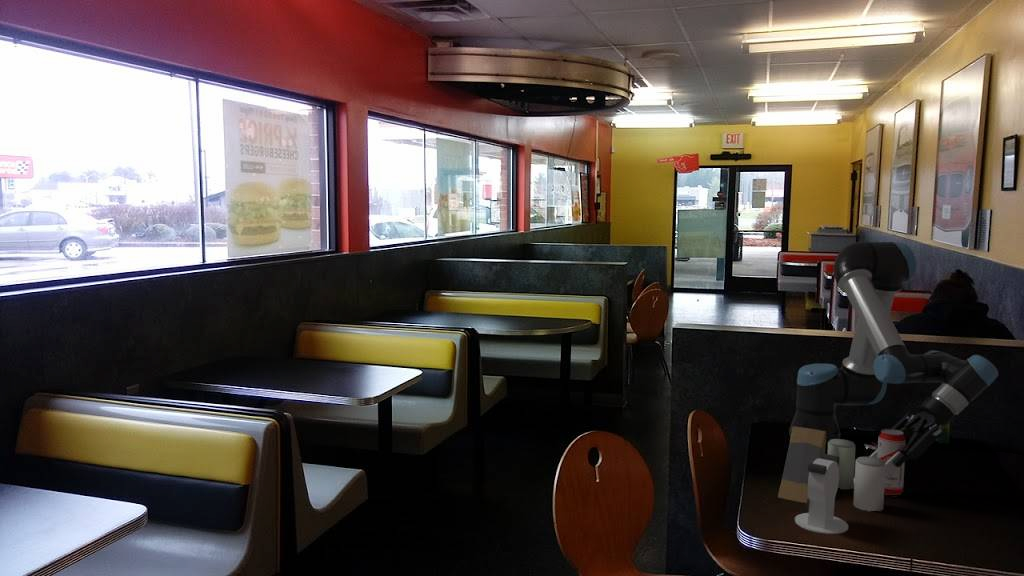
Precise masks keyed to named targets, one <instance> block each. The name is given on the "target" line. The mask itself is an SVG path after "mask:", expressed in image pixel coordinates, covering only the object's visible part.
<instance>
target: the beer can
mask: <svg viewBox="0 0 1024 576" xmlns="http://www.w3.org/2000/svg"><path fill="white" fill-rule="evenodd" d="M903 434H904V433H903V432H902V431H899V430H894V429H891V428H883V429H881V430H880V434H879V435H878V440H877V449H878V454H877V458H878V459H881V460H883V461H884V463H886V462H887V461H888V460H889V459H890V458H891V457H892V456H893V455H894V454H895V453H897V452H898V451H899V449H902V450H903V448H904V447H905V445H906V444H907V441H906V440H907V439H905V437H904V435H903ZM899 452H900V451H899ZM900 453H901V452H900ZM901 454H902V453H901ZM905 462H906V461H905ZM905 462H904V463H903V464H902V465H901V466H900V467H898V468H897V469H896V470H895V471H894V472H893V473H892V474H891V475H890V476H889V477H886V476H885V487H884V494H885V495H884V496H887V495H899V496H900V495H902V494H903V491H904V477H905Z"/></svg>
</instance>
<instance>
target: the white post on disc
mask: <svg viewBox="0 0 1024 576" xmlns="http://www.w3.org/2000/svg"><path fill="white" fill-rule="evenodd" d="M838 466H839V457H838V456H833V455H828V453H825V454H822V457H821V459H820V458H818V459H816V460H815V461H814V462H813V463H809V465H808V471H809V474H808V478H807V492H808V497H809V499H807V503H806V508H807V509H808V512H805V513H800V514H797V515H796V516H795V517H794V522H795V524H796V525H798V526H799V527H801V528H802V529H804V530H807V531H810V532H813V533H820V534H826V535H835V534H836V535H838V534H839V535H840V534H843V533H846V532H847V531H849V524H848V523H847V522H846V521H845V520H843V519H841V518H839V517H837V516H834V514H835V504H836V503H835V499H836V495H837V492H838V490H839V489H838V484H839V468H838Z"/></svg>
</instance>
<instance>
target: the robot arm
mask: <svg viewBox="0 0 1024 576" xmlns="http://www.w3.org/2000/svg"><path fill="white" fill-rule="evenodd" d="M916 270H917V261H916V256H915V254H914V251H913V250H912V248H911V247H910V246H909V245H907V244H906V243H903V242H894V241H868V242H867V241H857V242H852V243H849V244H848V245H846V246H844V247H843V248H842V249H841V250H839V253H838V254H837V255H836V258H835V259H834V263H833V275H834V276H833V277H834V280H835V283H836V285H837V286H838V288H839V290H840V291H843V292H844V293H845V295H846V297H847V299H848V301H849V303H850V305H851V307H852V308H853V311H854V313H855V314H856V316H857V319H856V323H855V328H854V333H853V337H852V342H851V346H850V350H849V354H848V355H849V356H847V357H846V358H843V360H842V363H841V367H840V368H838V367H837V365H835V364H832V363H812V364H806V365H803V366H802V367H800V368H799V369H798V372H797V379H796V404H795V405H796V409H795V414H794V416H793V420H792V421H791V425H790V426H789V434H788V435H789V437H790V438H791V433H792V427H793V426H795V427H802V428H809V429H815V430H821V431H826V445H828V442H829V441H830V440H831V439H841V431H840V427H839V425H838V420H837V417H836V406H867V405H874V404H878V403H879V402H880V401H882V399H883V398H884V396H885V394H886V392H887V386H888V384H895V385H899V384H911V383H912V384H914V383H917V384H928V383H930V384H931V383H933V384H934V383H935V384H936V383H940V385H939V387H937V388H936V389H935V390H934V391H933V392H932V393H931V396H928V397H926V399H925V400H924V401H922V402H921V404H920V405H919V408H920V411H919V412H917V413H915V414H911V413H910V412H906V413H905V414H904V415H903V417H902V419H901V420H899V421H898V422H897V423H895V424H894V425H893V426H892V427H891V428H890V429H894V430H899V431H902V432H903V433H904V434H903V435H904V437H905V440H907V439H908V438H909V440H908V441H906V445H905V447H904V448H903V450H902V449H899V451H900V452H901V453H902V454H901V453H900V452H899V451H898V452H897V453H895V454H894V455H893V456H892V457H891V458H890V459H889V460H888V461H887V462H886V463H885V464H886V468H885V476H886V477H889V476H890V475H891V474H892V473H893V472H894V471H895V470H896V469H897V468H898V467H900V466H901V465H902V464H903V463H904V462H906V461H907V460H913V461H916V460H918V459H919V457H921V456H922V455H923V454H924V452H925V451H927V449H928V448H929V447H930V446H932V444H933V443H934V442H935V441H936V439H937V438H939V437H940V436H942V435H943V432H942V431H941V430H940V428H939V426H940V425H941V426H946V425H947V424H948V423H950V424H951V422H952V421H953V420H954V419H955V416H958V415H959V414H960V413H961V412H962V411H964V409H965V408H966V407H968V406H969V405H970V404H971V403H972V402H973V401H974V400H975V399H976V398H978V396H979V395H981V394H982V392H983V391H985V390H986V389H987V388H988V387H990V386H991V384H992V383H993V382H994V381H995V380H996V378H997V377H998V376H999V371H998V369H997V367H996V365H994V364H993V363H992V362H991V361H990V360H988V359H987V358H986V357H983V356H982V355H979V354H974V355H971V356H970V357H969V358H967V359H966V360H964V359H961V358H958V357H956V356H953V355H951V354H948V353H946V352H944V351H939V350H929V351H927V352H925V353H923V354H917V353H916V354H915V353H914V354H913V353H912V354H911V353H910V352H909V351H908V349H907V347H906V345H905V343H904V341H903V339H902V337H901V335H900V334H899V330H898V329H897V328H896V326H895V323H894V322H893V320H892V318H891V316H890V315H891V311H892V307H893V303H894V299H895V295H896V294H897V293H899V292H901V291H902V289H903V286H904V282H908V281H911V280H912V279H913V277H914V276H915V275H916ZM932 434H933V435H932ZM877 454H878V448H876V449H875V451H874V452H872V453H871V455H869V456H868V457H873V458H877Z"/></svg>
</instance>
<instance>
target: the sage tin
mask: <svg viewBox="0 0 1024 576" xmlns="http://www.w3.org/2000/svg"><path fill="white" fill-rule="evenodd" d="M827 454H828V455H833V456H838V457H839V466H838V468H839V484H838V488H840V489H839V490H850V489H849V488H852V487H853V488H854V484H855V464H856V444H855V443H854V442H853V441H852V440H848V439H844V438H843V439H842V438H840V439H831V440H830V441H829V442H828V444H827ZM853 488H852V489H853Z"/></svg>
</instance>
